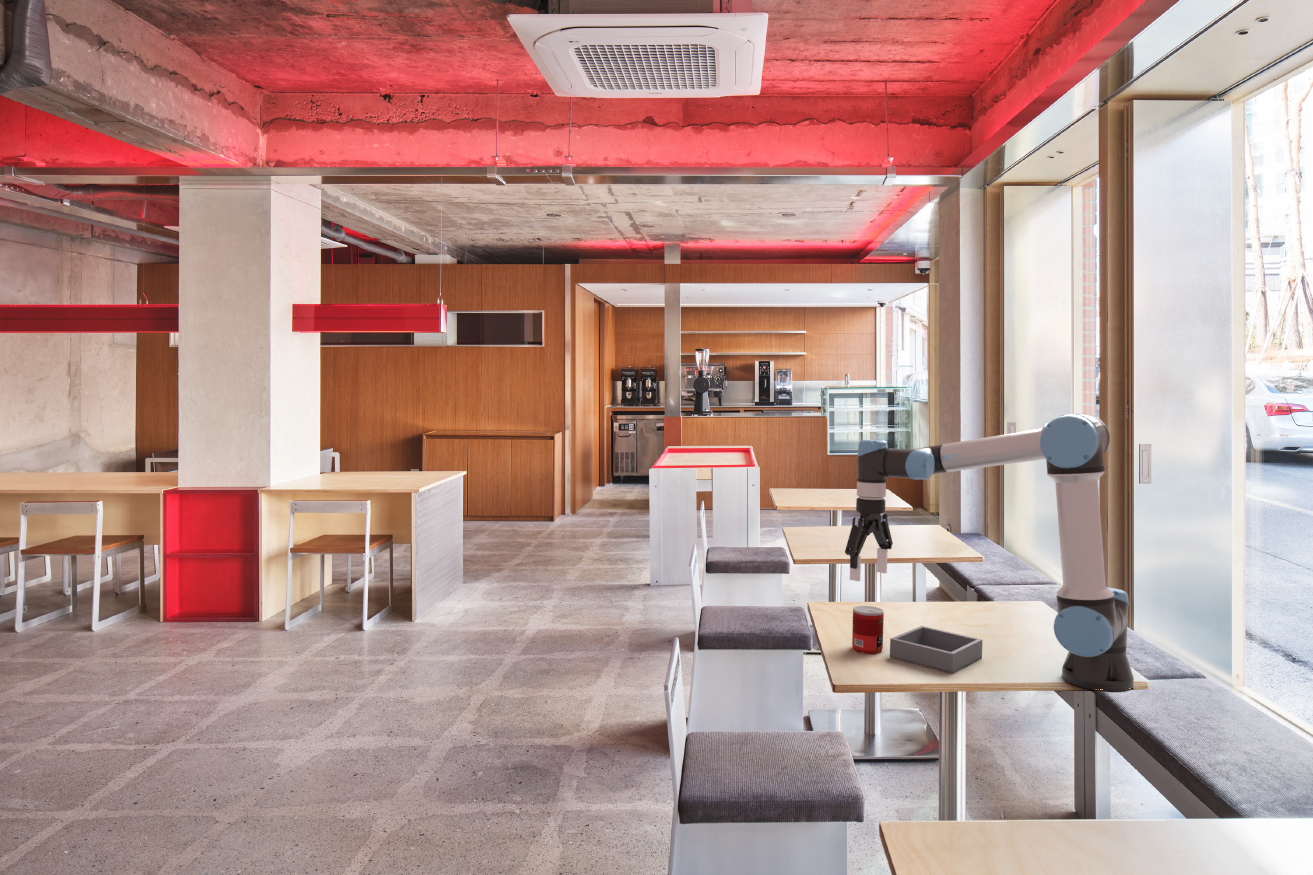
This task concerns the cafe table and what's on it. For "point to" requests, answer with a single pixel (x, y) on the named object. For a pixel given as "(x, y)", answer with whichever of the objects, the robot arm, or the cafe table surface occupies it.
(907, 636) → the box
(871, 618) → the canned food
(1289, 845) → the cafe table surface
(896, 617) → the cafe table surface
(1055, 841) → the cafe table surface
